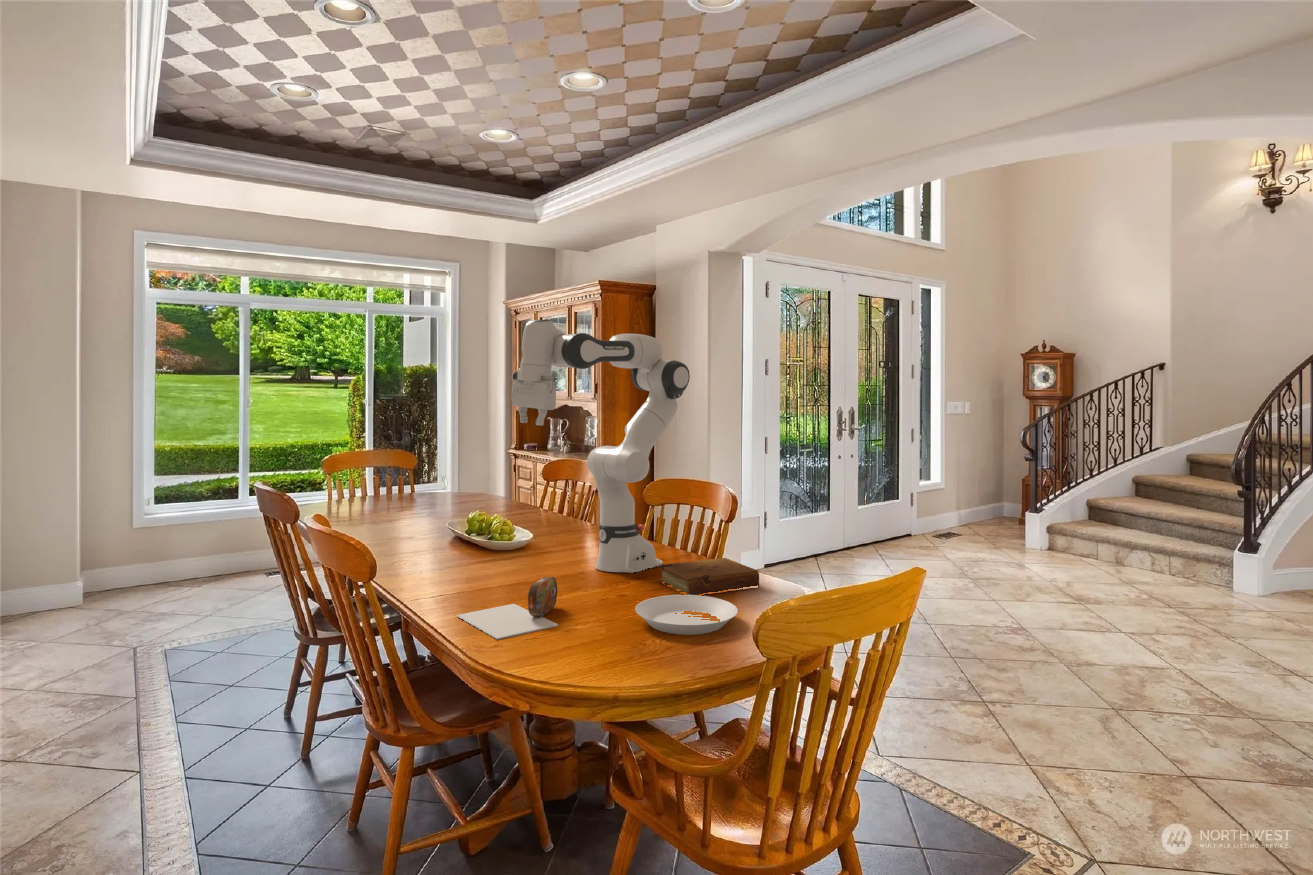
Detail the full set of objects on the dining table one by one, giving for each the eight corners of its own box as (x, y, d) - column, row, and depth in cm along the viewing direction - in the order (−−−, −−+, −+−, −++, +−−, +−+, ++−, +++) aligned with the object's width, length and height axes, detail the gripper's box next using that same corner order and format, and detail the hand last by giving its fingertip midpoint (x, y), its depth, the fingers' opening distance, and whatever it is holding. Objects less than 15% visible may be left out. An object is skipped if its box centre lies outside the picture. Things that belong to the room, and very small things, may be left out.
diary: (688, 600, 197) (688, 579, 196) (658, 584, 214) (658, 565, 213) (759, 590, 207) (759, 570, 206) (725, 575, 224) (725, 557, 223)
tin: (537, 620, 174) (538, 586, 174) (524, 619, 175) (526, 585, 175) (557, 605, 189) (559, 573, 189) (546, 604, 190) (547, 572, 189)
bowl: (620, 614, 182) (620, 600, 182) (708, 604, 192) (708, 590, 192) (659, 646, 159) (659, 630, 159) (757, 632, 169) (757, 617, 169)
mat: (514, 605, 189) (514, 603, 189) (558, 625, 172) (558, 624, 172) (456, 616, 179) (456, 615, 179) (496, 639, 162) (496, 638, 162)
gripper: (563, 377, 199) (559, 427, 200) (528, 375, 215) (524, 421, 216) (543, 375, 195) (539, 426, 196) (509, 374, 211) (505, 420, 212)
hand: (531, 424), depth 206 cm, fingers open, 8 cm apart
